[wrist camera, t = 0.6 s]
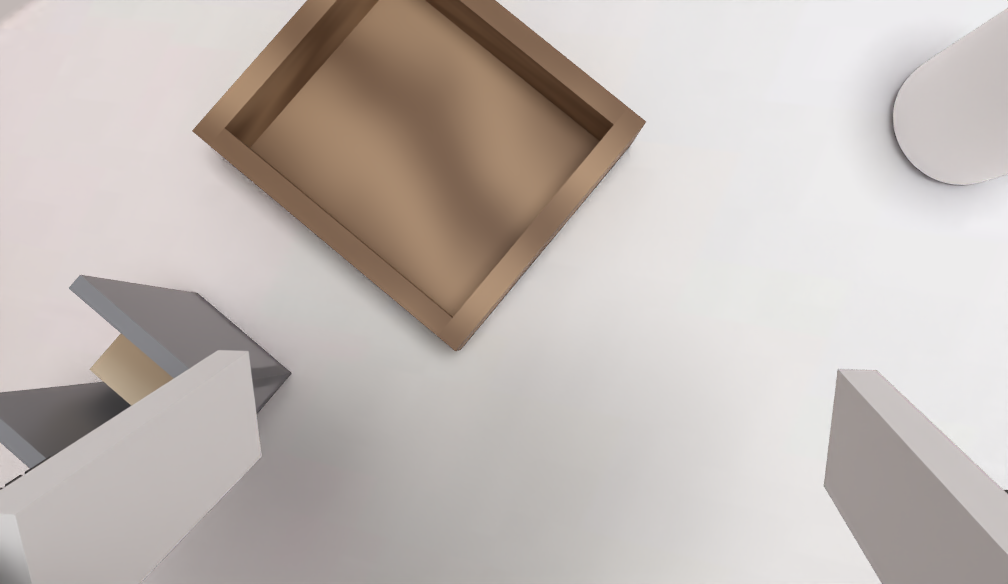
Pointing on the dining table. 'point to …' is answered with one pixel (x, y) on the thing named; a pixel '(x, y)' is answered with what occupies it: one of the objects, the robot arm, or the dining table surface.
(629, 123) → the tray
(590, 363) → the dining table surface
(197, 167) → the dining table surface
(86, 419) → the grey open box
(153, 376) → the cube
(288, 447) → the dining table surface
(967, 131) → the can
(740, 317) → the dining table surface
